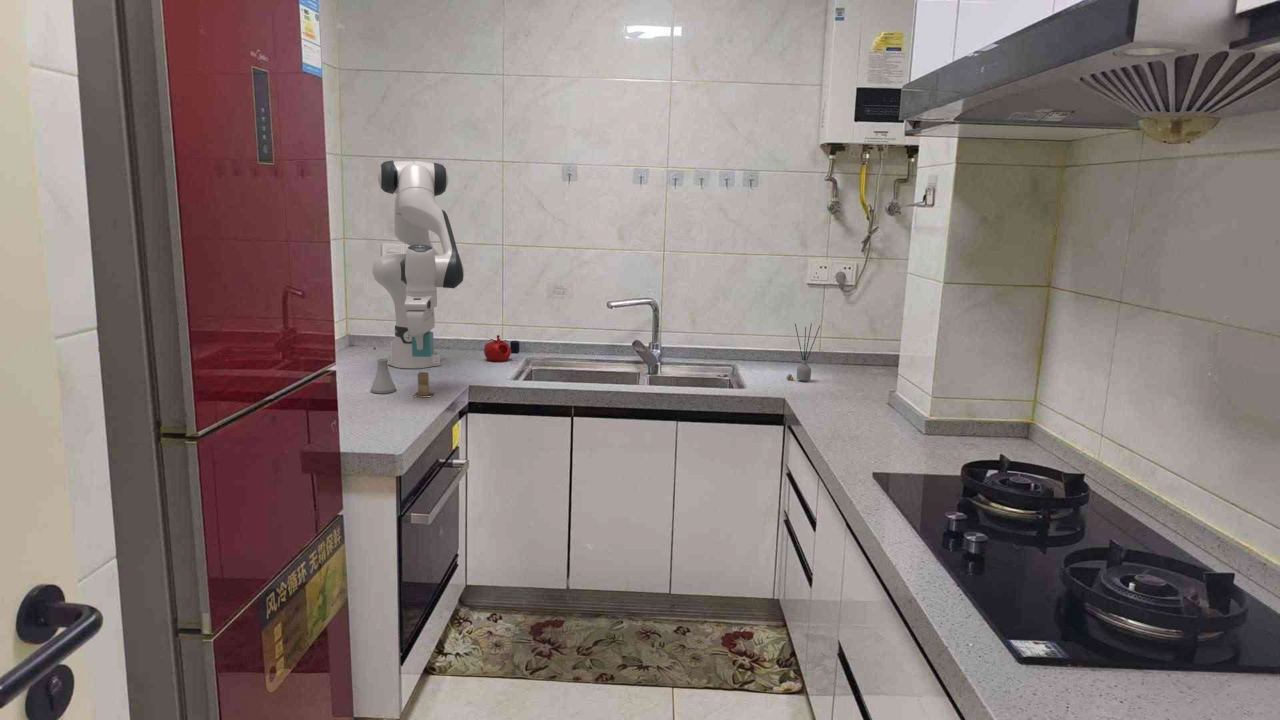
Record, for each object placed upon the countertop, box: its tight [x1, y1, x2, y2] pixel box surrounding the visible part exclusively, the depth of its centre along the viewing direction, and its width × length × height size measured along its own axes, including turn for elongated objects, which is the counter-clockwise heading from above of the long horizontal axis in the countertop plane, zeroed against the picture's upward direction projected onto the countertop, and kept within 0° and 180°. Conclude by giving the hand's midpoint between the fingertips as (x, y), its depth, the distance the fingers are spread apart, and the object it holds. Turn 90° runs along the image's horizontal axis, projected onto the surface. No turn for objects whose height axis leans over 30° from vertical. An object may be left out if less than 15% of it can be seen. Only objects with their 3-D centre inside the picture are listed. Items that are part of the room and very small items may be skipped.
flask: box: [369, 357, 397, 395], centre depth 252 cm, size 7×7×10 cm
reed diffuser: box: [786, 322, 821, 381], centre depth 281 cm, size 10×7×20 cm
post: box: [413, 371, 435, 398], centre depth 248 cm, size 5×5×7 cm
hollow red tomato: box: [483, 334, 512, 362], centre depth 306 cm, size 10×10×9 cm
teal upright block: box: [412, 331, 435, 357], centre depth 246 cm, size 5×5×7 cm
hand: (422, 347), depth 246 cm, fingers closed on teal upright block, 5 cm apart
